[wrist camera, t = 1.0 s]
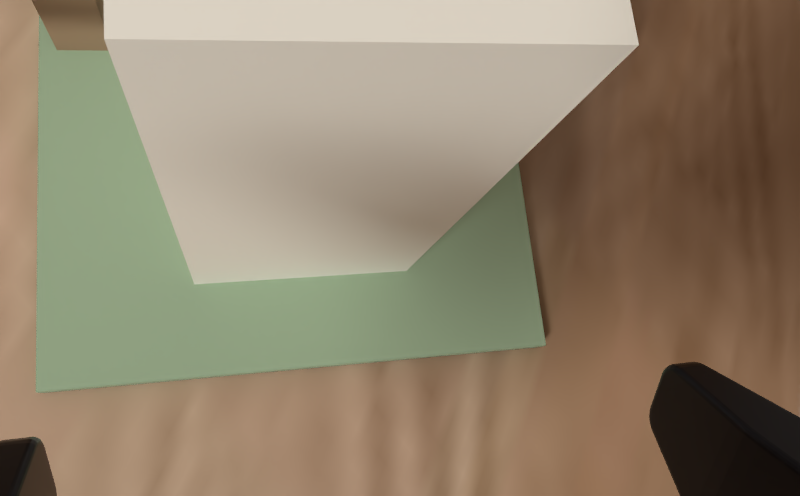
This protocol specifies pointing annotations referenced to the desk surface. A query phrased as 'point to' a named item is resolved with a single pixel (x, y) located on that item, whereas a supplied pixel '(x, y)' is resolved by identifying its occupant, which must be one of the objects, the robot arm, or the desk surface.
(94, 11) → the wooden tray
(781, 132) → the desk surface
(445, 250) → the putting strip
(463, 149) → the cream block
